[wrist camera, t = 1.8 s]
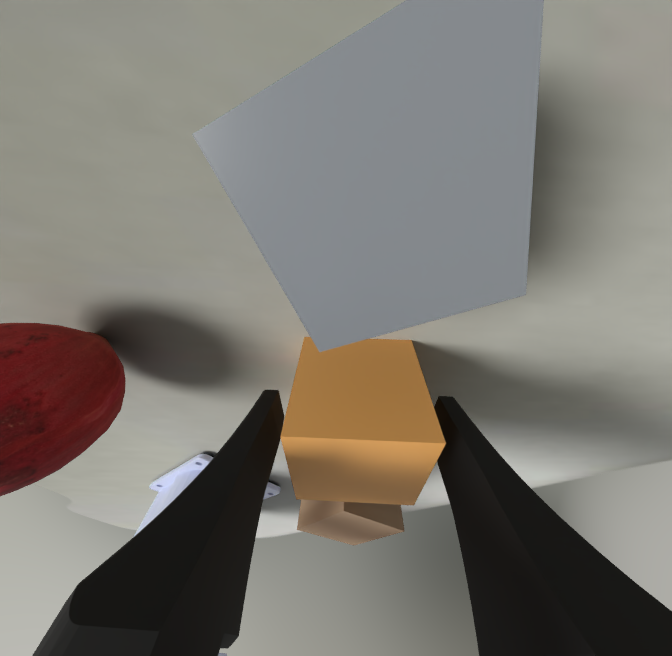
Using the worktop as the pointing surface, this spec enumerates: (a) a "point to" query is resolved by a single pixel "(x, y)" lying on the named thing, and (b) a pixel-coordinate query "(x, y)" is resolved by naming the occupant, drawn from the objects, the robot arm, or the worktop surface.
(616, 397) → the worktop surface
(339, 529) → the walnut block
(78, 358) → the onion
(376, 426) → the orange block
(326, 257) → the slate block
